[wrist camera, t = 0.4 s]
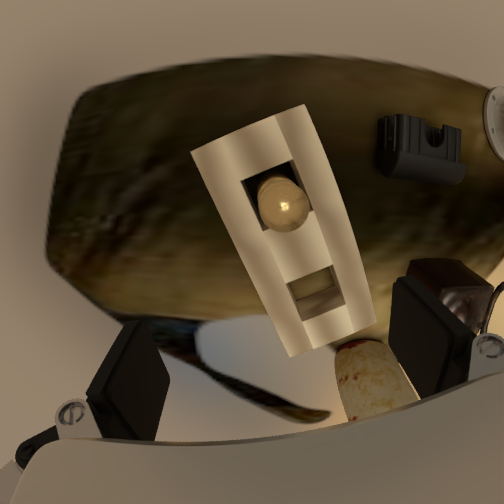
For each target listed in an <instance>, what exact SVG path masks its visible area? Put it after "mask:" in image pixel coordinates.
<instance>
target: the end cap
mask: <svg viewBox="0 0 504 504" xmlns="http://www.w3.org/2000/svg"><path fill="white" fill-rule="evenodd" d="M460 154H461V129H458V128H454V127H451V126H448V125H443V127H442V129H438V128H434V127H430V126H426V125H425V119H422V118H417V117H413V116H409V115H404V114H397V115H394V118H392V116H385V117H384V118H380V119H379V121H378V146H377V149H376V155H377V163H378V167H379V170H380V171H381V173H382V174H383V175H384V176H385V177H388V178H397V179H405V180H412V181H420V182H427V183H434V184H440V185H446V186H456V185H457V184H459V183H460V182H461V181H462V179H463V178H464V175H465V172H466V168H467V165H466V164H462V163H460Z"/></svg>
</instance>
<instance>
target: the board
mask: <svg viewBox="0 0 504 504" xmlns="http://www.w3.org/2000/svg"><path fill="white" fill-rule="evenodd" d="M191 154H192V156H193V159H194V161H195V163H196V165H197V167H198V169H199V171H200V173H201V176H202V178H203V180H204V182H205V184H206V186H207V188H208V190H209V193H210V195H211V197H212V199H213V201H214V203H215V205H216V207H217V209H218V211H219V214H220V216H221V218H222V220H223V222H224V224H225V226H226V228H227V230H228V232H229V234H230V236H231V239H232V241H233V243H234V245H235V247H236V249H237V251H238V253H239V255H240V257H241V259H242V261H243V263H244V265H245V268H246V270H247V272H248V274H249V276H250V278H251V280H252V282H253V284H254V286H255V288H256V290H257V292H258V294H259V296H260V298H261V300H262V302H263V304H264V306H265V308H266V310H267V312H268V314H269V317H270V319H271V321H272V322H273V324H274V327H275V329H276V330H277V333H278V335H279V337H280V339H281V341H282V343H283V345H284V347H285V349H286V351H287V352H288V355H289V357H293V356H296V355H298V354H301V353H304V352H307V351H310V350H312V349H315V348H317V347H320V346H323V345H326V344H328V343H331V342H333V341H336V340H338V339H341V338H343V337H345V336H348V335H350V334H353V333H355V332H357V331H360V330H362V329H364V328H367V327H369V326H371V325H373V324H376V323H377V320H376V316H375V312H374V307H373V303H372V299H371V295H370V291H369V287H368V283H367V279H366V276H365V272H364V268H363V265H362V261H361V258H360V254H359V251H358V247H357V244H356V241H355V237H354V234H353V231H352V228H351V225H350V221H349V218H348V215H347V212H346V209H345V206H344V203H343V200H342V198H341V195H340V192H339V189H338V186H337V183H336V181H335V178H334V175H333V173H332V170H331V167H330V165H329V162H328V159H327V157H326V154H325V152H324V149H323V147H322V144H321V142H320V139H319V137H318V134H317V132H316V130H315V127H314V125H313V123H312V120H311V118H310V116H309V113H308V111H307V109H306V107H305V105H304V104H303V105H300V106H297V107H295V108H292V109H289V110H286V111H284V112H281V113H278V114H276V115H273V116H271V117H268V118H266V119H263V120H261V121H258V122H256V123H253V124H251V125H248V126H246V127H244V128H241V129H239V130H237V131H234V132H232V133H230V134H228V135H225V136H223V137H221V138H219V139H217V140H214V141H212V142H210V143H208V144H206V145H204V146H202V147H200V148H198V149H195V150H193V151H191ZM287 161H289V163H290V166H291V168H292V170H293V173H294V175H295V178H296V180H297V183H298V185H299V187H300V189H301V190H303V192H304V193H305V194H306V196H307V198H308V201H309V214H308V217H307V219H306V221H305V222H304V224H303V225H302V226H301V227H299V228H298V229H296V230H294V231H291V232H286V233H282V232H277V231H274V230H272V229H270V228H269V227H267V226H266V225H265V224H264V222H263V221H262V219H261V218H260V216H259V214H258V211H257V209H256V207H255V205H254V202H253V200H252V198H251V196H250V194H249V191H248V189H247V187H246V185H245V182H244V179H246V178H248V177H251V176H253V175H255V174H258V173H260V172H263V171H265V170H267V169H270V168H272V167H275V166H277V165H279V164H282V163H284V162H287ZM328 266H329V268H330V271H331V274H332V277H333V280H334V283H335V286H333V287H330V288H328V289H325V290H323V291H320V292H318V293H315V294H313V295H310V296H308V297H305V298H303V299H300V300H298V301H296V299H295V297H294V294H293V292H292V290H291V287H290V285H289V283H288V282H291V281H293V280H296V279H298V278H301V277H303V276H306V275H308V274H311V273H313V272H315V271H318V270H320V269H323V268H325V267H328Z"/></svg>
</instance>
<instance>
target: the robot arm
mask: <svg viewBox="0 0 504 504" xmlns="http://www.w3.org/2000/svg"><path fill="white" fill-rule="evenodd" d="M484 124H485V129H486V134H487V137H488V140H489V142H490V145H491V147H492V149H493V150H494V152H495V154H496V155H497V156H498V157H499V158H500V159H501V160H502V161H504V87H494V88H493V89H491V90H490V91H489V92H488V94H487V96H486V99H485V103H484ZM471 333H472V331H471V330H470V329H469V328H468V327H467V326H466V325H465V324H464V323H463V322H462V321H461V320H460V319H459V318H458V317H457V316H456V315H455V314H454V313H453V312H452V311H451V310H450V309H449V308H448V307H446V306H445V305H444V304H443V303H442V302H441V301H440V300H439V299H438V298H437V297H436V296H435V295H434V294H433V293H432V292H430V291H429V290H428V289H427V288H426V287H425V286H424V285H423V284H422V283H421V282H420V281H418V280H417V279H416V278H415V277H414V276H413V275H407V276H403V277H399V278H397V280H396V282H394V283H393V289H392V305H391V317H390V328H389V337H388V342H389V346H390V348H391V350H392V351H393V353H394V355H395V356H396V358H397V359H398V361H399V363H400V364H401V366H402V368H403V369H404V371H405V373H406V374H407V376H408V378H409V379H410V381H411V383H412V384H413V386H414V388H415V389H416V391H417V393H418V395H419V396H420V398H421V400H418V401H416V402H413V403H410V404H407V405H404V406H401V407H398V408H395V409H392V410H389V411H386V412H383V413H379V414H376V415H373V416H369V417H365V418H362V419H358V420H354V421H350V422H346V423H342V424H338V425H333V426H329V427H324V428H319V429H315V430H309V431H304V432H298V433H291V434H285V435H278V436H271V437H262V438H253V439H242V440H228V441H209V442H161V441H160V442H159V441H154V440H155V436H156V433H157V429H158V425H159V421H160V417H161V414H162V410H163V406H164V402H165V399H166V395H167V391H168V387H169V384H170V376H169V374H168V371H167V369H166V367H165V365H164V363H163V360H162V358H161V356H160V353H159V351H158V349H157V347H156V344H155V342H154V339H153V337H152V335H151V332H150V330H149V327H148V325H147V324H145V323H143V322H142V321H141V320H137V321H128V322H126V323H125V325H124V326H123V328H122V330H121V331H120V333H119V335H118V336H117V338H116V340H115V342H114V343H113V345H112V347H111V348H110V350H109V352H108V354H107V355H106V357H105V359H104V361H103V362H102V364H101V366H100V368H99V369H98V371H97V373H96V375H95V377H94V378H93V380H92V382H91V384H90V386H89V388H88V389H87V392H86V395H87V396H88V398H87V399H86V401H85V400H82V399H72V400H69V401H67V402H65V403H63V404H62V405H61V406H60V407H59V408H58V410H57V412H56V415H55V423H56V425H55V426H53V427H51V428H49V429H47V430H45V431H43V432H42V433H39V434H37V435H36V436H34V437H32V438H30V439H28V440H26V441H24V442H23V443H21V444H20V445H19V447H18V449H17V451H16V455H15V459H16V462H14V461H13V460H11V461H10V462H9V463H7V464H6V465H5V466H4V467H3V468H2V469H0V504H504V339H503V338H502V337H500V336H499V335H497V334H492V333H484V334H480V335H478V336H476V338H475V339H474V338H473V337H472V336H471Z"/></svg>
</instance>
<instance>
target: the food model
mask: <svg viewBox="0 0 504 504" xmlns="http://www.w3.org/2000/svg"><path fill="white" fill-rule="evenodd" d="M335 374H336V379H337V384H338V389H339V393H340V397H341V400H342V403H343V406H344V409H345V412H346V415H347V418H348V421H349V422H350V421H354V420H358V419H362V418H365V417H369V416H373V415H376V414H379V413H383V412H386V411H389V410H392V409H395V408H398V407H401V406H404V405H407V404H410V403H413V402H416V401H418V398H417V396H416V394H415V392H414V390H413V388H412V387H411V385H410V383H409V382H408V380H407V378H406V377H405V375H404V373H403V371H402V369H401V367H400V365H399V364H398V362H397V361H396V359H395V358H394V356H393V355H392V354H391V352H390V351H389V349H388V347H387V346H386V345H385V344H382V343H380V342H376V341H367V340H362V341H356V342H351V343H348V344H346V345H343V346H342V347H341V348H339V349H338V351H337V353H336V356H335Z"/></svg>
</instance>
